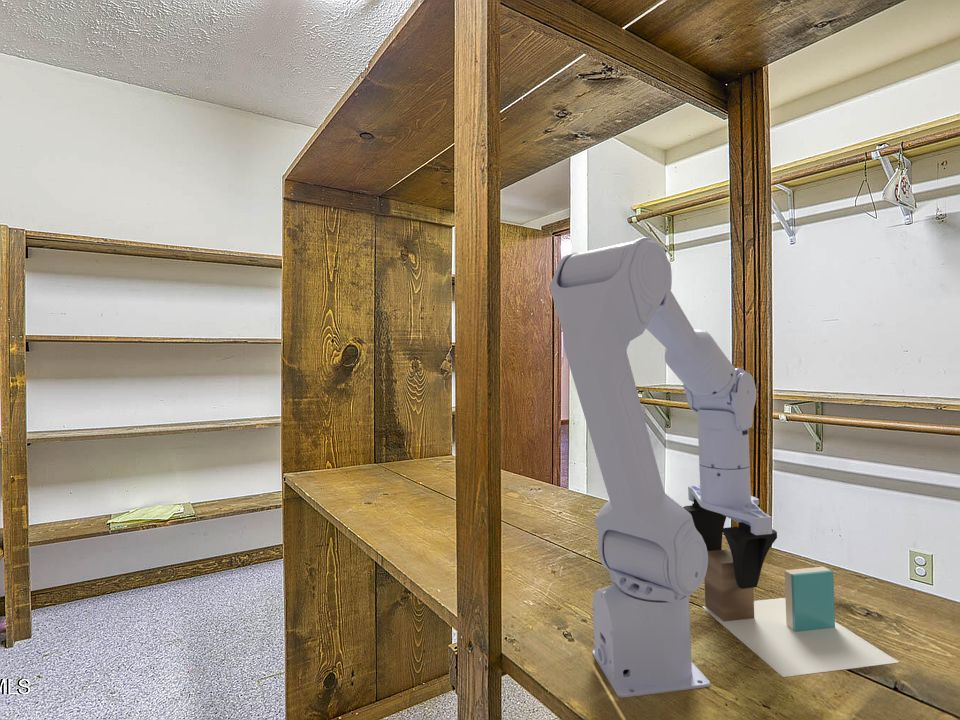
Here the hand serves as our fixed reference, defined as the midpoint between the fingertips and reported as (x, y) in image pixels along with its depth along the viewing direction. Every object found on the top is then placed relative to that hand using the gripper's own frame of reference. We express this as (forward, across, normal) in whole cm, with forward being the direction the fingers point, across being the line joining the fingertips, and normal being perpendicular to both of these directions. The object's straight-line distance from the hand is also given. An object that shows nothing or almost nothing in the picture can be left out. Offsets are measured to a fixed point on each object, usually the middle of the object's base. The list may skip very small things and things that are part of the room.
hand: (728, 573), depth 66 cm
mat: (+5, -6, -4) cm, 9 cm away
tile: (+5, -5, -7) cm, 10 cm away
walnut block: (+5, 0, 0) cm, 5 cm away
